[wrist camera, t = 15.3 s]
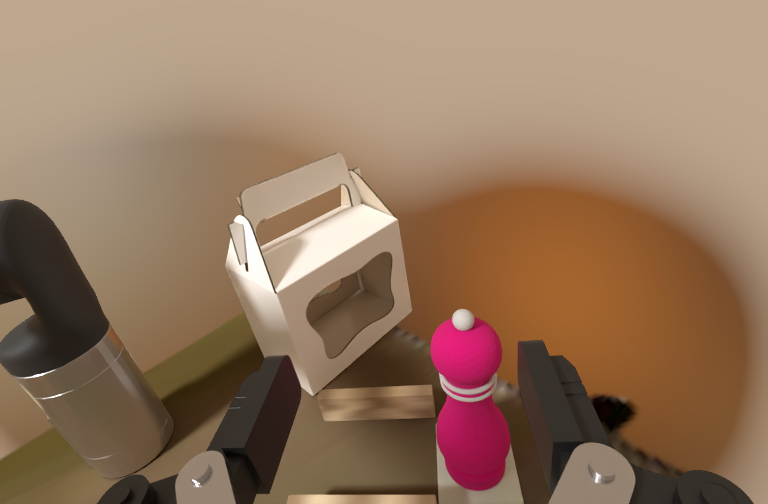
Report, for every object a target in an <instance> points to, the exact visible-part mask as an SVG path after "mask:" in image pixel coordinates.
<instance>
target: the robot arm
mask: <svg viewBox="0 0 768 504" xmlns="http://www.w3.org/2000/svg"><path fill="white" fill-rule="evenodd" d="M21 298H26V299H27V301H28V302H29V303H30V305H31V307H32V309H33V311H34V313H35V314H34V315H33V316H31V317H30V318H28V319H27V320H25V321H24V322H22V323H21V324H19V325H18V326H17V327H15V328H14V329H13V330H12V331H10V332H9V333H8V334H7V335H6V336H5V337H4V338H3V340H2V341H1V342H0V363H1V364H2V366H3V367H4V368H5V369H6V370H7V371H8V372H9V373H10V374H11V375H12V376H13V378H14V379H15V380H16V381H17V382H18V383H19V384H20V385H21V386H22V388H23V389H24V390H25V391H26V392H27V393H28V395H29V396H31V398H32V399H33V400H34V401H35V402H36V403H37V404H38V406H39V407H40V408H41V409H42V410H43V411H44V412H45V413H46V414H47V420H48V421H49V422H50V423H51V424H52V425H53V426H54V428H55V429H56V430H57V431H58V432H59V433H60V434H61V435H62V437H63V438H64V439H65V440H66V441H67V442H68V443H69V444H70V446H71V447H72V448H73V449H74V450H75V451H76V452H77V453H78V454H79V456H80V457H81V458H82V459H83V460H84V461H85V462H86V463H87V465H88V466H89V467H93V468H94V469H95V470H96V471H97V472H98V474H100V475H101V476H102V477H104V478H108V479H115V478H120V477H124V476H126V475H129V474H132V473H133V472H135V471H137V470H139V469H141V468H142V467H144V466H145V465H147V464H148V463H149V462H150V461H152V460H153V459H154V458H155V457H156V456H157V455H158V454H159V453H160V452H161V451H162V450H163V449H164V447H165V446H166V445H167V443H168V442H169V440H170V438H171V436H172V433H173V430H174V422H173V419H172V417H171V416H170V414H169V413H168V411H167V410H166V408H165V407H164V405H163V404H162V402H161V401H160V399H159V397H158V396H157V394H156V393H155V391H154V390H153V388H152V387H151V385H150V384H149V382H148V380H147V379H146V377H145V376H144V374H143V373H142V371H141V370H140V368H139V367H138V365H137V364H136V362H135V361H134V359H133V357H132V356H131V354H130V353H129V352H128V350H127V348H126V347H125V345H124V344H123V342H122V341H121V339H120V338H119V336H118V335H117V333H116V332H115V330H114V329H113V327H112V326H111V324H110V323H109V321H108V319H107V318H106V317H105V315H104V313H103V311H102V309H101V306H100V304H99V301H98V299H97V296H96V294H95V292H94V290H93V288H92V287H91V285H90V283H89V282H88V280H87V279H86V277H85V275H84V273H83V272H82V270H81V268H80V266H79V265H78V263H77V261H76V259H75V258H74V256H73V253H72V252H71V250H70V248H69V246H68V244H67V242H66V241H65V239H64V237H63V236H62V234H61V232H60V231H59V230H58V228H57V227H56V225H55V224H54V222H53V221H52V220H51V219H50V218H49V217H48V216H47V215H46V213H45V212H43V211H42V210H41V209H40V208H38V207H37V206H35V205H33V204H32V203H30V202H27V201H24V200H18V199H14V200H5V201H0V305H1V304H4V303H8V302H11V301H14V300H18V299H21ZM518 383H519V389H520V393H521V397H522V400H523V404H524V408H525V411H526V415H527V418H528V422H529V425H530V429H531V432H532V436H533V439H534V443H535V447H536V450H537V454H538V457H539V461H540V464H541V468H542V471H543V475H544V478H545V482H546V486H547V489H548V493H549V495H552V497H551V499H550V501H549V503H548V504H753V502H752V501H751V500H750V498H749V497H748V496H747V495H746V494H745V493H744V492H743V491H742V490H741V489H740V488H739V487H738V486H736V485H735V484H733V483H732V482H730V481H729V480H727V479H725V478H723V477H721V476H719V475H717V474H714V473H711V472H708V471H701V470H692V471H688V472H686V473H684V474H682V475H681V476H680V478H679V479H676V478H673V477H669V476H665V475H662V474H658V473H654V472H651V471H648V470H645V469H642V468H640V467H637V466H636V465H634V464H632V463H630V462H629V461H627V460H626V459H625V457H623V456H622V455H621V454H620V453H619V452H617V451H616V450H615V448H614V447H613V446H612V444H611V442H610V441H609V439H608V436H607V434H606V432H605V430H604V428H603V426H602V424H601V422H600V420H599V417H598V415H597V413H596V411H595V409H594V407H593V405H592V403H591V400H590V398H589V396H587V392H586V390H585V388H584V386H583V384H582V381H581V379H580V377H579V375H578V373H577V371H576V369H575V367H574V366H573V365H572V364H571V363H570V362H569V361H568V360H567V359H565V358H564V357H563V356H562V355H560V356H549V354H548V351H547V349H546V346H545V344H544V342H543V341H542V340H533V341H519V342H518ZM300 400H301V385H300V382H299V379H298V376H297V374H296V371H295V369H294V366H293V363H292V361H291V358H290V357H289V356H288V355H278V356H267V357H266V358H265V359H264V361H263V363H262V365H261V367H260V369H259V371H257V372H252V373H251V374H250V375H249V376H248V377H247V378H246V380H245V381H244V382H243V383H242V384H241V386H240V388H239V390H238V392H237V393H236V395H235V399H233V401H232V403H231V405H230V409H229V410H228V411H227V413H226V414H225V416H224V418H223V420H222V422H221V424H220V426H219V428H218V430H217V432H216V434H215V435H214V437H213V439H212V441H211V443H210V445H209V447H208V449H207V450H206V452H203V453H201V454H199V455H197V456H195V457H194V458H192V459H191V460H190V461H189V462H188V463H187V464H186V465H185V466H184V467H183V468H182V470H181V471H180V473H179V474H177V475H174V476H171V477H168V478H165V479H162V480H159V481H156V482H153V483H149V481H148V480H147V479H146V478H145V477H144V476H143V475H132V476H128V477H126V478H124V479H122V480H120V481H119V482H117V483H116V484H114V485H113V486H112V487H111V488H110V489H109V490H108V491H107V492H106V493H105V494H104V495H103V496H102V497H101V499H100V500H99V502H98V503H97V504H253V502H254V499H255V497H256V494H269V493H270V490H271V487H272V484H273V481H274V478H275V475H276V472H277V469H278V466H279V463H280V460H281V457H282V454H283V451H284V448H285V445H286V442H287V439H288V436H289V433H290V430H291V427H292V425H293V422H294V419H295V416H296V413H297V410H298V407H299V404H300Z"/></svg>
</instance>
